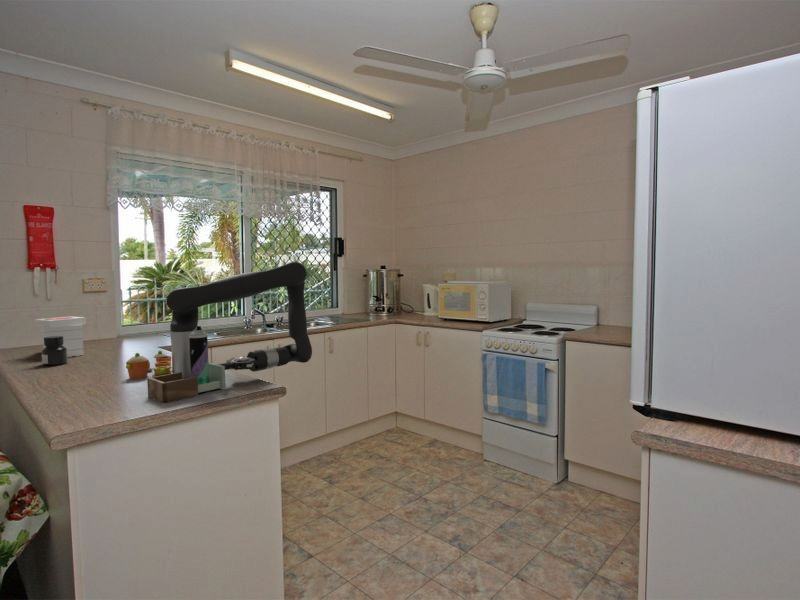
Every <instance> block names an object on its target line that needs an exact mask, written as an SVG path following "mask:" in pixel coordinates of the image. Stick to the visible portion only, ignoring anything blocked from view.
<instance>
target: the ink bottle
mask: <svg viewBox="0 0 800 600" xmlns="http://www.w3.org/2000/svg"><path fill="white" fill-rule="evenodd" d="M63 343H64V341H63V336H50V337H44V346H46V347H45V348H44V349H43V348H42V350H41V364H42V366H44V367H53V365H54V366H61V365H66V364H67V363H68V362H69V361H68V357H67V348H66V347H64V346H62V345H63Z"/></svg>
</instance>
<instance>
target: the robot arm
mask: <svg viewBox="0 0 800 600" xmlns="http://www.w3.org/2000/svg"><path fill="white" fill-rule="evenodd" d="M307 274H308V273H307V269H306V267H305V266H304V265H303V263H301V262H298V261H290V262H288V263H286V264H283V265H280V266H277V267H274V268H271V269H270V268H269V269H267V270H266V269H265V270H259V271H258V270H257V271H250V272H249V271H248V272H243V273H238V274H235V275H231V276H228V277H227V276H226V277H224V278H221V279H217V280H215V281H212V282H209V283H207V284H203V285H198V286H190V287H178V288H175V289H172V291H170V292H169V293H168V295H167V297H166V300H165V303H166V306H167V307H168V309H169V310H171V317H172V318H171V323H170V325H169V327H170V330H169V331H170V344H171V345H170V348H171V368H172V369H171V370H172V372H171V373H172V374H173V373H179V372H182V379H186V378H191V366H190V343H189V336H190V335H189V334H190V333H192V332H193V330H195V326H198V323H199V308H200V307H204V306H207V305H212V304H220V303H228V302H232V301H237V300H242V299H247V298H250V297H253V296H256V295H258V294H259V295H260V294H262V293H264V292H267V291H270V290H272V289H273V290H274V289H277V288H278V289H279V288H284V287H285V288H286V289H287V299H288V300H287V301H288V302H287V303H288V305H287V307H288V310H287V317H288V319H287V322H288V335H289V338H291V339H293V341H294V343H290V344H287V345H283V346H279V347H273V348H262V349H256V350H250V351H249V352H248V353H247V356H246V357H245V356H239V357H237V358H236V357H232V358H230V359H227V360H225V362H222V363H221V362H220V363H218V364H217V365H221V366H225V371H226V370H227V371H228V370H231V371H232V370H234V371H238V370H240V371H241V370H250V371H251V372H253V373H254V372H261V371H264V370H270V369H273V368H275V367H277V368H278V367H281V366H285V365H288V363H291V362H298V363H301V364H302V363H304V364H305V363H307V362H309V361H310V360H311V359H312V355H313V347H312V344H311V341H310V337H309V334H308V327H307V326H308V323H307V312H306V305H305V283H306V282H305V281H306V278H307Z"/></svg>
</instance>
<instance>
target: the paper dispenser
mask: <svg viewBox="0 0 800 600" xmlns="http://www.w3.org/2000/svg"><path fill="white" fill-rule="evenodd" d="M34 321H35V323H34V324H35V327H41V334H42V335H41V337H42V341H41V342H42V350H43V349H44V348H45V347H46V346H44V337H50V336H63V341H64V343H63V345H62V346H64V347H66V348H67V358H73V357H72V356H76V357H80V356H79V355H84V354H85V353H84V339H83V338H84V336H83V325H86V324H87V322H86V316H85V317H84V316H73V315H72V316H59V317H48V318H47V317H46V318H36V319H34ZM84 356H85V355H84Z"/></svg>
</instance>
